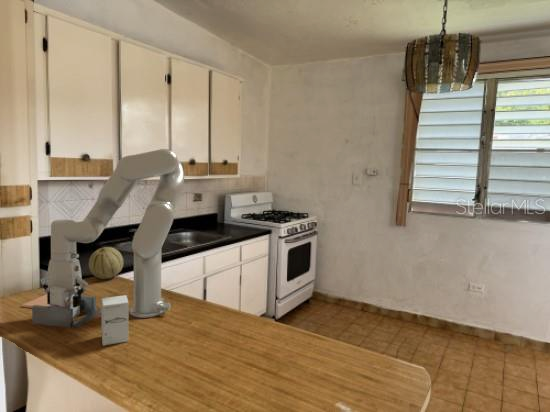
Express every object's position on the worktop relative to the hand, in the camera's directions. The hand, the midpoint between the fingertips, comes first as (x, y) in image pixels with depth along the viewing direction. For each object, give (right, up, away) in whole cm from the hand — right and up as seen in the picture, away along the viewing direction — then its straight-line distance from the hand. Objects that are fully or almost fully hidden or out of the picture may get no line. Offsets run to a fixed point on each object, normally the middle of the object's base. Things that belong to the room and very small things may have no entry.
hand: (64, 304), depth 126 cm
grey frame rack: (0, -5, +1) cm, 5 cm away
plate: (-13, -3, +14) cm, 19 cm away
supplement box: (+23, -7, -13) cm, 28 cm away
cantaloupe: (-6, 0, +46) cm, 46 cm away
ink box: (0, -5, +1) cm, 5 cm away
